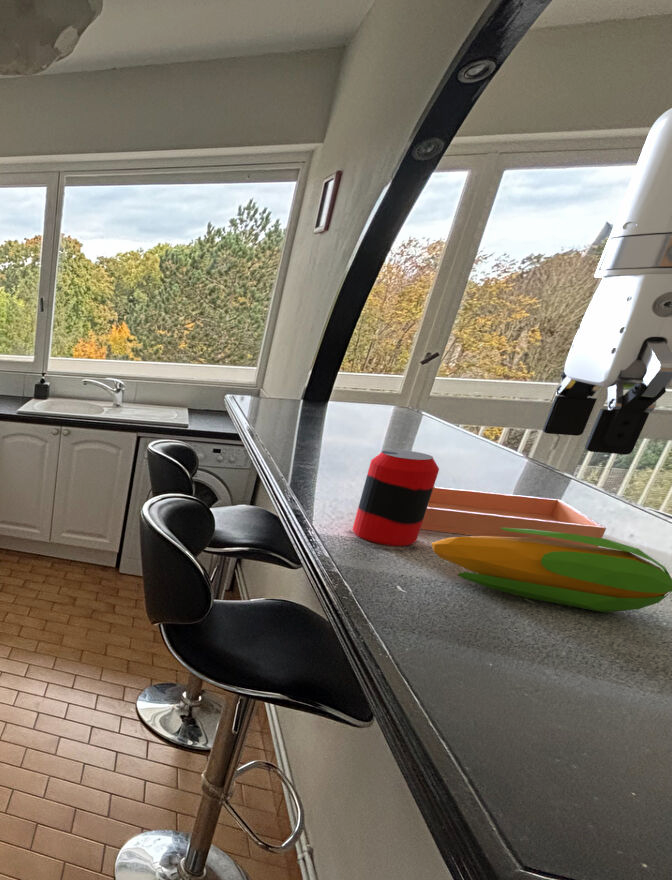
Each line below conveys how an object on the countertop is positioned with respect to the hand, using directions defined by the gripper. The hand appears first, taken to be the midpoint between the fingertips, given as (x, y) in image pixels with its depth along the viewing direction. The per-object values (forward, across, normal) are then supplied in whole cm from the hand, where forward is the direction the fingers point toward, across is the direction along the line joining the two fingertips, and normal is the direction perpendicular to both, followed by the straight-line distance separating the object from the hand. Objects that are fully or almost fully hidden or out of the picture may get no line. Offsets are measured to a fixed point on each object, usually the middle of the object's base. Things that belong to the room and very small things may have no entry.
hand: (582, 442), depth 61 cm
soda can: (+18, +15, +11) cm, 26 cm away
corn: (+18, +1, -1) cm, 18 cm away
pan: (+18, +28, -2) cm, 33 cm away
